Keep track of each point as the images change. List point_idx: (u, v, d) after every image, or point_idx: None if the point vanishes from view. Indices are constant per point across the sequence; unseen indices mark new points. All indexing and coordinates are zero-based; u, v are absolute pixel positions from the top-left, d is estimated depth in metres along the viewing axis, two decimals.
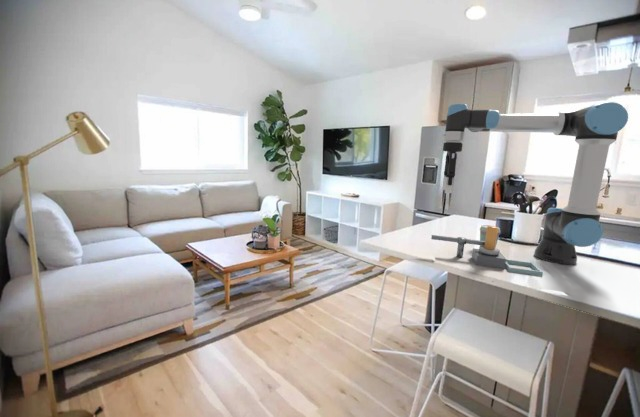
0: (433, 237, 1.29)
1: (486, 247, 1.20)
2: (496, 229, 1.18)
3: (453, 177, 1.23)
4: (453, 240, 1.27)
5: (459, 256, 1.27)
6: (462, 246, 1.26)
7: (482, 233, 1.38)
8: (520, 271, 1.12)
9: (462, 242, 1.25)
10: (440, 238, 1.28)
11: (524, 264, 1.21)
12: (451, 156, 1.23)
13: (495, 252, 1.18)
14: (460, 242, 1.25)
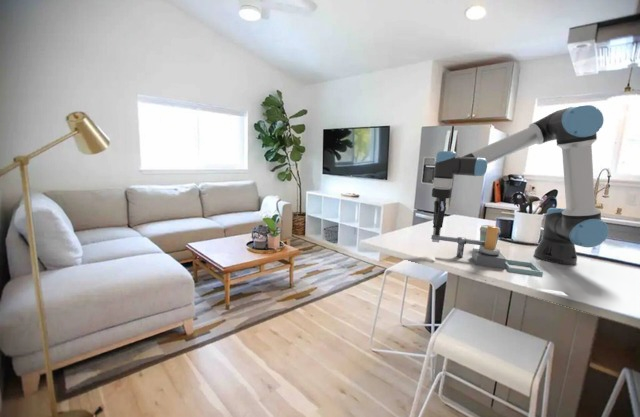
0: (433, 237, 1.29)
1: (486, 247, 1.20)
2: (496, 229, 1.18)
3: (440, 227, 1.29)
4: (453, 240, 1.27)
5: (459, 256, 1.27)
6: (462, 246, 1.26)
7: (482, 233, 1.38)
8: (520, 271, 1.12)
9: (462, 242, 1.25)
10: (440, 238, 1.28)
11: (524, 264, 1.21)
12: (440, 210, 1.23)
13: (495, 252, 1.18)
14: (460, 242, 1.25)
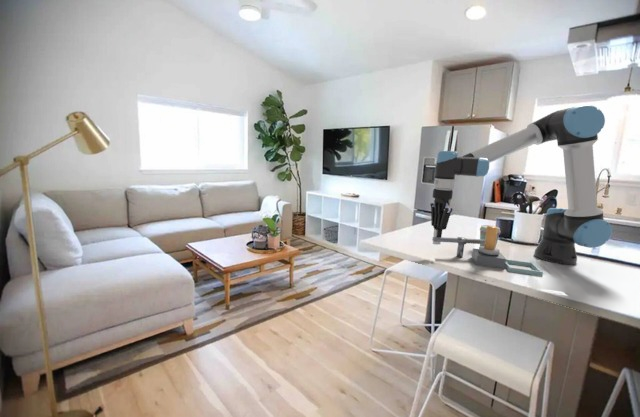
0: (435, 239, 1.26)
1: (486, 247, 1.20)
2: (496, 229, 1.18)
3: (442, 229, 1.26)
4: (454, 241, 1.26)
5: (460, 256, 1.27)
6: (463, 246, 1.26)
7: (482, 233, 1.38)
8: (520, 271, 1.12)
9: (463, 242, 1.25)
10: (442, 240, 1.26)
11: (524, 264, 1.21)
12: (447, 212, 1.20)
13: (495, 252, 1.17)
14: (461, 242, 1.25)
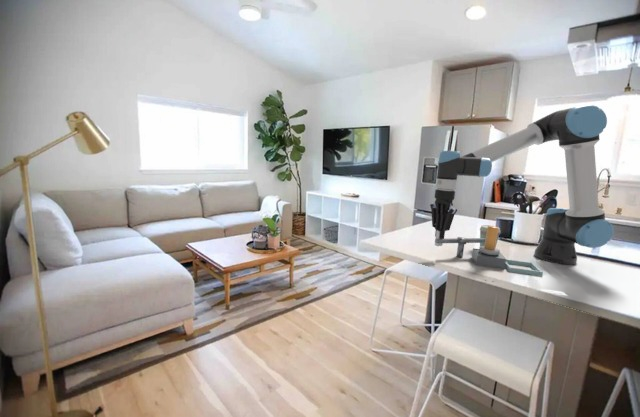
0: (439, 241, 1.23)
1: (486, 247, 1.20)
2: (496, 229, 1.18)
3: None
4: (456, 241, 1.25)
5: (461, 256, 1.27)
6: (463, 246, 1.26)
7: (482, 233, 1.38)
8: (520, 271, 1.12)
9: (464, 242, 1.25)
10: (445, 241, 1.24)
11: (524, 264, 1.21)
12: (452, 213, 1.18)
13: (495, 252, 1.17)
14: (463, 242, 1.25)
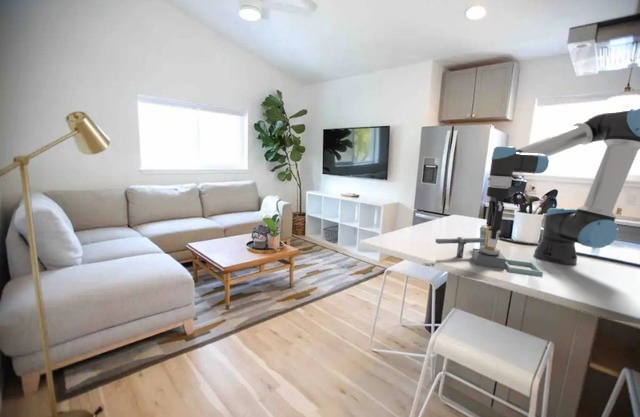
0: (439, 241, 1.23)
1: (486, 247, 1.20)
2: None
3: (497, 231, 1.16)
4: (456, 241, 1.25)
5: (461, 256, 1.27)
6: (463, 246, 1.26)
7: (482, 233, 1.38)
8: (520, 271, 1.12)
9: (464, 242, 1.25)
10: (445, 241, 1.24)
11: (524, 264, 1.21)
12: (498, 209, 1.12)
13: (495, 252, 1.17)
14: (463, 242, 1.25)
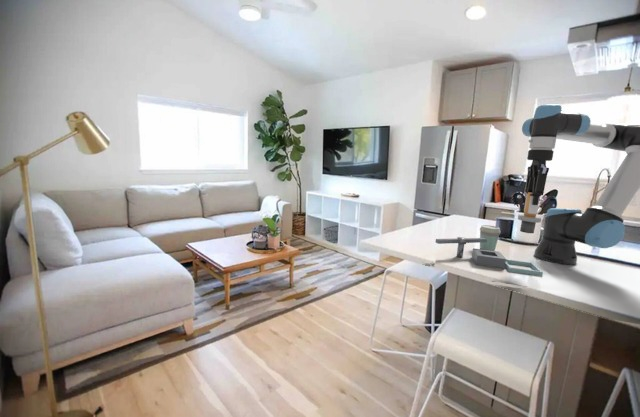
0: (439, 241, 1.23)
1: (526, 214, 1.13)
2: None
3: (539, 196, 1.09)
4: (456, 241, 1.25)
5: (461, 256, 1.27)
6: (463, 246, 1.26)
7: (482, 233, 1.38)
8: (520, 271, 1.12)
9: (464, 242, 1.25)
10: (445, 241, 1.24)
11: (524, 264, 1.21)
12: (541, 172, 1.05)
13: (537, 219, 1.10)
14: (463, 242, 1.25)
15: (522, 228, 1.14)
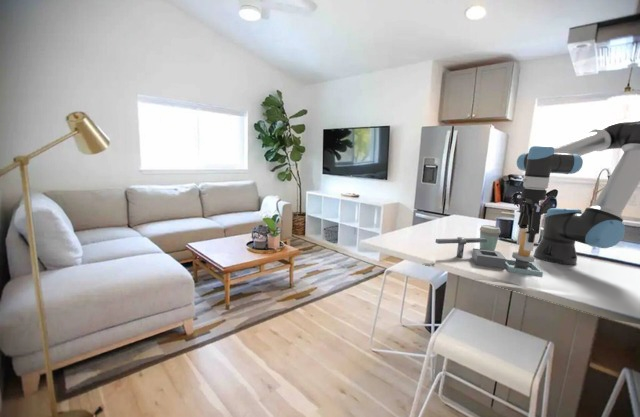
0: (439, 241, 1.23)
1: (520, 253, 1.15)
2: None
3: (535, 234, 1.09)
4: (456, 241, 1.25)
5: (461, 256, 1.27)
6: (463, 246, 1.26)
7: (482, 233, 1.38)
8: (520, 271, 1.12)
9: (464, 242, 1.25)
10: (445, 241, 1.24)
11: None
12: (535, 210, 1.07)
13: (530, 259, 1.13)
14: (463, 242, 1.25)
15: (516, 266, 1.17)
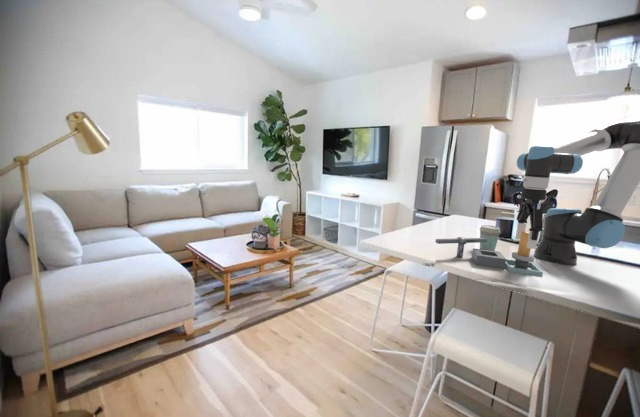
0: (439, 241, 1.23)
1: (520, 253, 1.15)
2: None
3: (539, 231, 1.06)
4: (456, 241, 1.25)
5: (461, 256, 1.27)
6: (463, 246, 1.26)
7: (482, 233, 1.38)
8: (520, 271, 1.12)
9: (464, 242, 1.25)
10: (445, 241, 1.24)
11: None
12: (536, 207, 1.06)
13: (530, 259, 1.13)
14: (463, 242, 1.25)
15: (516, 267, 1.17)
